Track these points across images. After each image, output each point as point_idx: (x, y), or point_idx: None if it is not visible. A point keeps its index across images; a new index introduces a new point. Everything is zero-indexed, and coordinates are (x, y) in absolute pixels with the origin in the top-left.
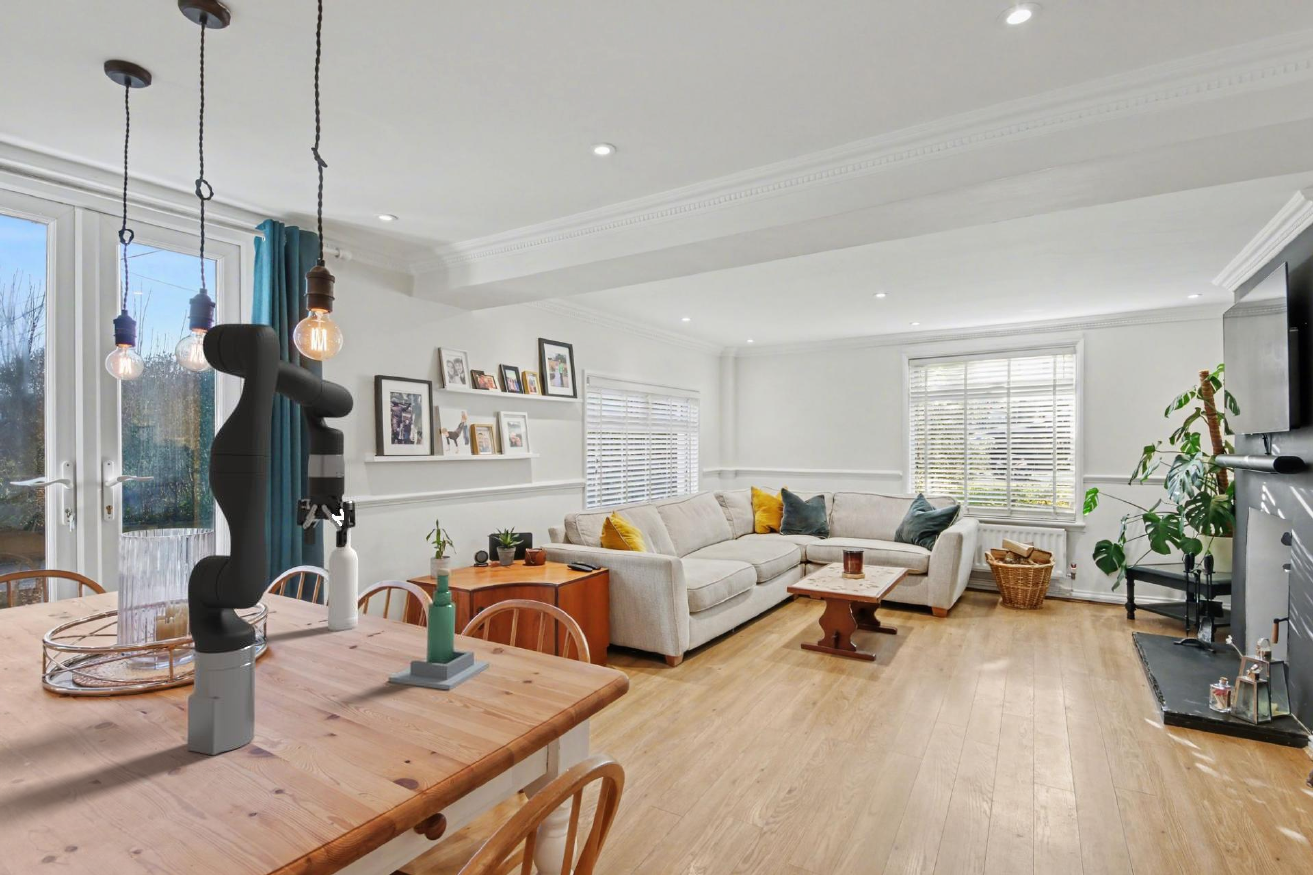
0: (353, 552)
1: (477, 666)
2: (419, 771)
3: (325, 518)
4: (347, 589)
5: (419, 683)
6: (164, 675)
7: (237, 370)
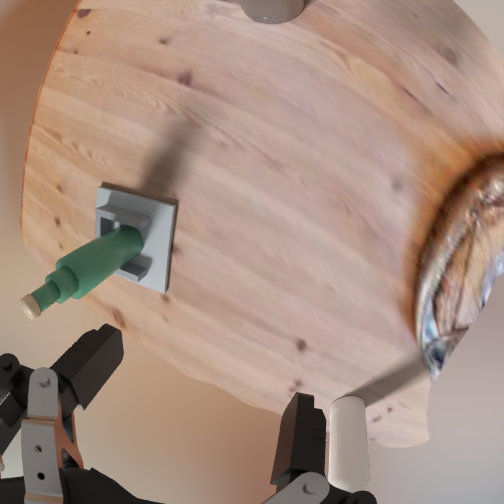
0: None
1: None
2: (79, 26)
3: (110, 486)
4: (339, 442)
5: (132, 195)
6: (491, 226)
7: None
